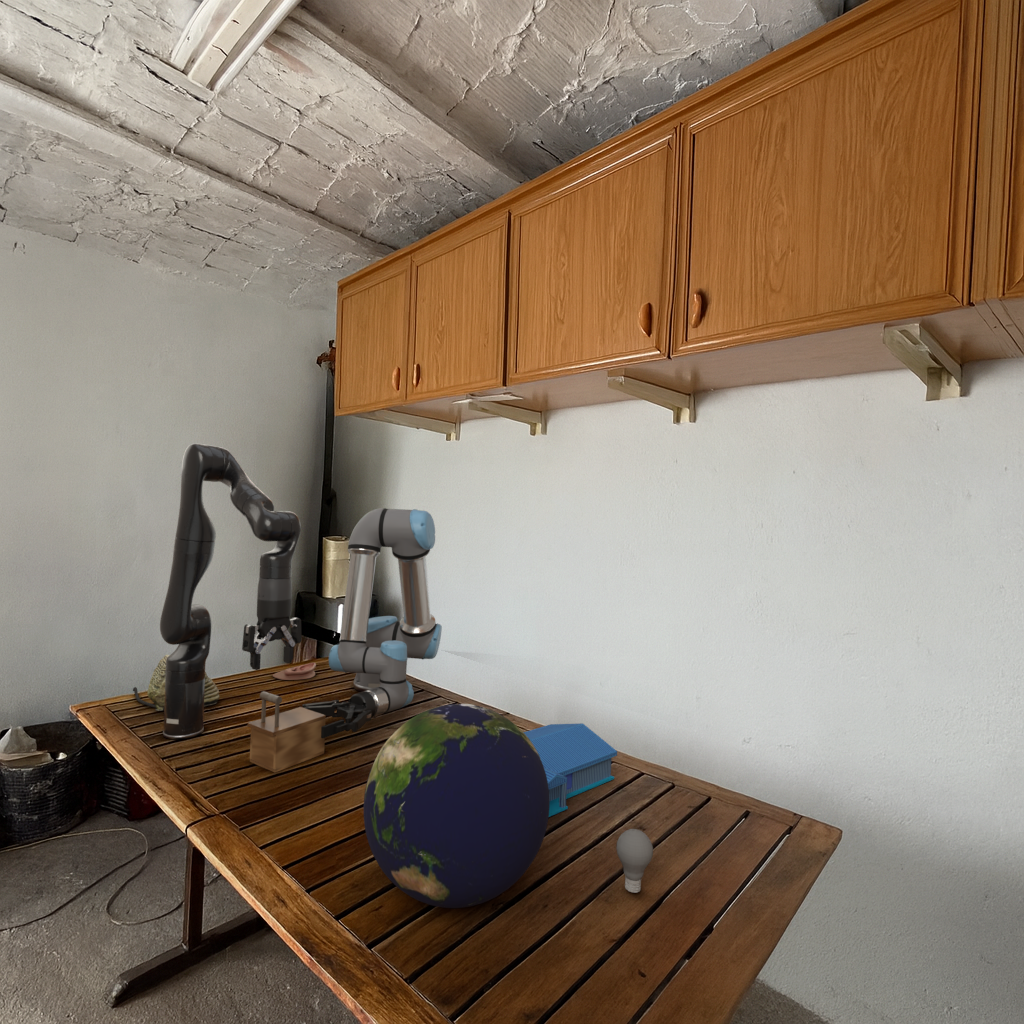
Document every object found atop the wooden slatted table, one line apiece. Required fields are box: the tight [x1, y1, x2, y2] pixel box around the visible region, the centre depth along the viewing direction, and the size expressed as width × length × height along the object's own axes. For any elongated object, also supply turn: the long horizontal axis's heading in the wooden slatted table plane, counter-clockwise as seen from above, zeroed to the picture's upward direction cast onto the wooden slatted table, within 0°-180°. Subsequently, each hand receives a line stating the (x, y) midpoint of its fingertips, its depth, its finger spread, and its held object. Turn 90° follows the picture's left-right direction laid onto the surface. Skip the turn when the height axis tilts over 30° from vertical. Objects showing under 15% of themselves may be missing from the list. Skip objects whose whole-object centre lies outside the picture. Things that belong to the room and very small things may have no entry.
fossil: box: [147, 654, 221, 712], centre depth 185 cm, size 9×18×15 cm, turn 132°
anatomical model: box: [272, 662, 317, 681], centre depth 220 cm, size 13×4×12 cm
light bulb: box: [615, 828, 654, 894], centre depth 106 cm, size 6×6×10 cm
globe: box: [363, 703, 550, 909], centre depth 103 cm, size 30×30×30 cm
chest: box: [249, 719, 326, 773], centre depth 153 cm, size 14×10×9 cm
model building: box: [523, 722, 618, 818], centre depth 142 cm, size 39×24×10 cm, turn 132°
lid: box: [247, 690, 327, 736], centre depth 152 cm, size 15×10×8 cm, turn 147°
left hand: (272, 665), depth 148 cm, fingers open, 8 cm apart
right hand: (303, 726), depth 156 cm, fingers open, 13 cm apart
